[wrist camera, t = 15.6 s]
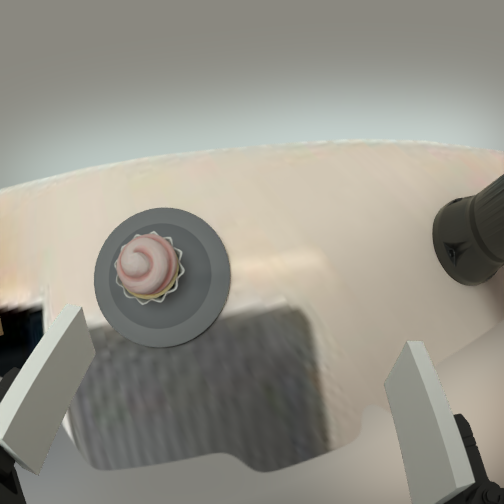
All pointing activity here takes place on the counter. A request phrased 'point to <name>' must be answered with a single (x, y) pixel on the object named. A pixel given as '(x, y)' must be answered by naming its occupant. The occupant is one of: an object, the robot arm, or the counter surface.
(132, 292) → the cupcake
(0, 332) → the sandwich container
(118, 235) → the slate plate
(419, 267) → the counter surface
